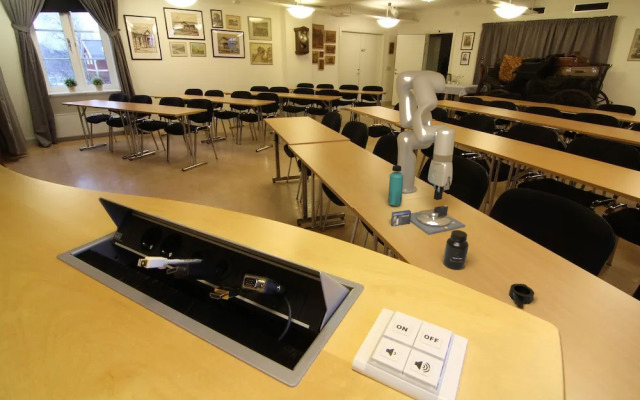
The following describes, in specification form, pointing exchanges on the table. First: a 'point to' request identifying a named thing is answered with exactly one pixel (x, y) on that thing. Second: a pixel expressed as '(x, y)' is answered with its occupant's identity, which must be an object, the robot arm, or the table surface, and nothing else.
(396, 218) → the mini dv tape
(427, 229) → the dial plate
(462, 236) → the supplement bottle
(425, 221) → the dial
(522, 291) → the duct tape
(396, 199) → the beverage bottle
